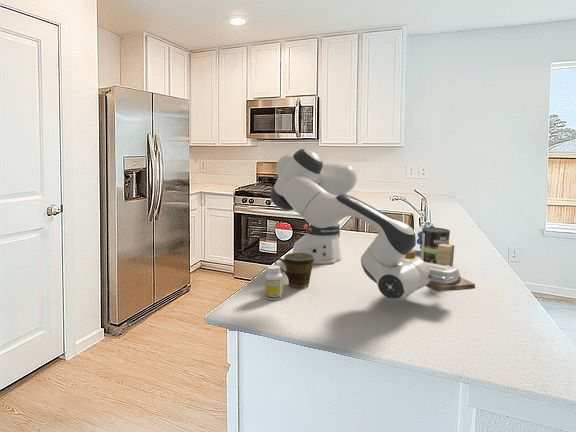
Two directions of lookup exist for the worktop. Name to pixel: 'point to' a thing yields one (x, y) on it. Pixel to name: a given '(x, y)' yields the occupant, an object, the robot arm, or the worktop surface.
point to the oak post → (445, 254)
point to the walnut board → (451, 285)
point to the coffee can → (433, 243)
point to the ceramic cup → (298, 269)
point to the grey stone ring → (454, 281)
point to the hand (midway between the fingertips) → (432, 264)
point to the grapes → (419, 240)
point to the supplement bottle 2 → (410, 254)
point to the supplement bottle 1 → (273, 283)
